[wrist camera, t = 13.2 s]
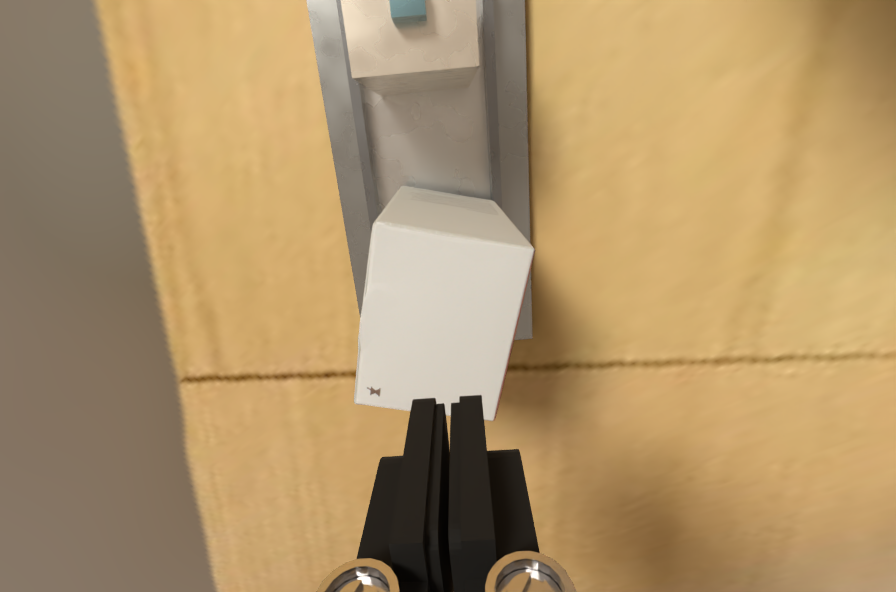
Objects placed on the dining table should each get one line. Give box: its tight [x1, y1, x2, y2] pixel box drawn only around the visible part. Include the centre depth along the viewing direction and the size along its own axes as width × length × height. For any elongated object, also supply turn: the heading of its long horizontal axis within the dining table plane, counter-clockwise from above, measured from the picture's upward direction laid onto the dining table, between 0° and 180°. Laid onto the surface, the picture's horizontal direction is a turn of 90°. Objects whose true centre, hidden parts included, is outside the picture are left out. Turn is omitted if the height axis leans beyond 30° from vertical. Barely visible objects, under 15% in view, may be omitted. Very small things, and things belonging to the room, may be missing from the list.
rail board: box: [307, 0, 532, 340], centre depth 26 cm, size 13×24×12 cm, turn 5°
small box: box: [354, 186, 535, 421], centre depth 23 cm, size 8×6×13 cm
